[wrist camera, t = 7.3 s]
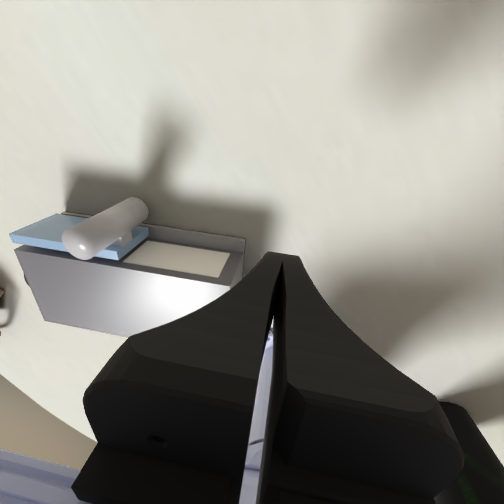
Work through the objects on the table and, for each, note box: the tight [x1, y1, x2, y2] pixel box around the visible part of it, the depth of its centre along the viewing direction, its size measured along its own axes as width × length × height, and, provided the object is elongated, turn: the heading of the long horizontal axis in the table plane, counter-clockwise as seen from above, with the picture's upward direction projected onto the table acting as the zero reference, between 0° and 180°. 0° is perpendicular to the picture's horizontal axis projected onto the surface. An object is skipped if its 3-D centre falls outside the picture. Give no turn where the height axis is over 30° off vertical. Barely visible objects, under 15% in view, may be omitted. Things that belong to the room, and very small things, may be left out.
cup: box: [434, 402, 504, 504], centre depth 22 cm, size 8×8×12 cm
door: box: [9, 197, 149, 260], centre depth 18 cm, size 9×3×6 cm, turn 85°
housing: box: [14, 212, 245, 338], centre depth 21 cm, size 17×8×5 cm, turn 85°
